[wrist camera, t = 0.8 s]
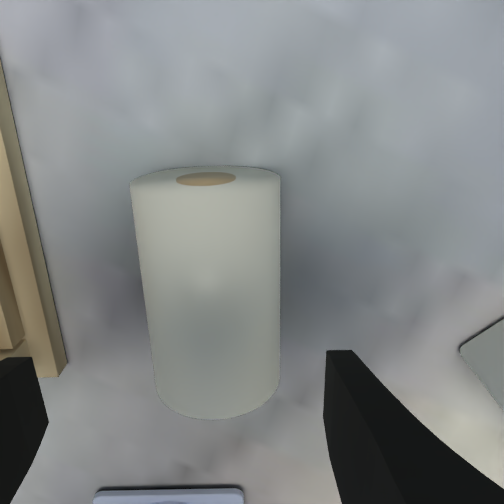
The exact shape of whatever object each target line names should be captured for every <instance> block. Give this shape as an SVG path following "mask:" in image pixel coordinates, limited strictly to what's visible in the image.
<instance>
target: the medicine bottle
mask: <svg viewBox="0 0 504 504" xmlns="http://www.w3.org/2000/svg"><path fill="white" fill-rule="evenodd" d="M460 354H461V357H462V358H463V359H464V360H465V362H466V363H467V364H468V366H469V367H470V368H471V369H472V371H473V372H474V373H475V375H476V376H477V377H478V379H479V380H480V381H481V382H482V384H483V385H484V386H485V388H486V389H487V390H488V391H489V393H490V394H491V395H492V397H493V398H494V399H495V401H496V402H497V403H498V404H499V406H500V407H501V408H502V410H503V411H504V319H503V320H501V321H500V322H498V323H497V324H495V325H493V326H492V327H490V328H489V329H487V330H486V331H484V332H483V333H481V334H479V335H478V336H476V337H475V338H473V339H472V340H470V341H469V342H467V343H465V344H464V345H463V346H462V347H461V348H460Z"/></svg>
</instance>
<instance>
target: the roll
mask: <svg viewBox="0 0 504 504" xmlns="http://www.w3.org/2000/svg"><path fill="white" fill-rule="evenodd" d="M129 186H130V193H131V201H132V208H133V216H134V224H135V231H136V239H137V247H138V254H139V262H140V270H141V277H142V285H143V292H144V300H145V308H146V315H147V323H148V331H149V338H150V346H151V354H152V361H153V369H154V376H155V384H156V390H157V393H158V396H159V397H160V399H161V400H162V402H163V403H164V404H165V405H166V406H167V407H169V408H170V409H171V410H173V411H175V412H177V413H179V414H181V415H184V416H187V417H191V418H195V419H202V420H222V419H229V418H233V417H237V416H241V415H244V414H246V413H249V412H251V411H253V410H255V409H257V408H258V407H260V406H262V405H263V404H264V403H265V402H267V401H268V400H269V399H270V398H271V397H272V395H273V394H274V393H275V391H276V390H277V387H278V385H279V381H280V176H279V175H278V174H276V173H274V172H271V171H268V170H264V169H259V168H252V167H242V166H201V167H185V168H177V169H169V170H163V171H158V172H154V173H150V174H146V175H143V176H140V177H138V178H136V179H134V180H133V181H132V182H131V183H130V185H129Z"/></svg>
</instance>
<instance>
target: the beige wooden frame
mask: <svg viewBox="0 0 504 504" xmlns="http://www.w3.org/2000/svg"><path fill="white" fill-rule="evenodd" d="M7 357H32V359H33V363H34V366H35V370H36V374H37V377H59V375H60V374H61V372H62V371H63V369H64V368H65V366H66V364H67V359H66V355H65V350H64V346H63V341H62V337H61V332H60V328H59V323H58V319H57V314H56V310H55V305H54V301H53V296H52V291H51V287H50V282H49V278H48V273H47V269H46V264H45V260H44V255H43V251H42V246H41V242H40V237H39V233H38V228H37V224H36V219H35V214H34V210H33V205H32V201H31V196H30V192H29V187H28V183H27V178H26V174H25V169H24V165H23V160H22V156H21V151H20V147H19V142H18V137H17V133H16V128H15V124H14V119H13V115H12V110H11V106H10V101H9V97H8V92H7V88H6V83H5V79H4V74H3V69H2V65H1V60H0V361H1V360H3V359H5V358H7Z"/></svg>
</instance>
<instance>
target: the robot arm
mask: <svg viewBox="0 0 504 504" xmlns="http://www.w3.org/2000/svg"><path fill="white" fill-rule="evenodd" d="M323 419H324V426H325V432H326V439H327V445H328V451H329V457H330V461H331V465H332V468H333V472H334V476H335V480H336V483H337V487H338V491H339V494H340V498H341V502H342V504H504V489H503V488H501V487H500V486H499V485H497V484H496V483H495V482H493V481H492V480H490V479H489V478H488V477H486V476H485V475H484V474H482V473H481V472H480V471H478V470H477V469H476V468H475V467H473V466H472V465H471V464H470V463H468V462H467V461H466V460H464V459H463V458H462V457H461V456H459V455H458V454H457V453H455V452H454V451H453V450H452V449H451V448H449V447H448V446H447V445H446V444H445V443H443V442H442V441H441V440H440V439H439V438H438V437H437V436H435V435H434V434H433V433H432V432H431V431H430V430H429V429H428V428H427V427H425V426H424V425H423V424H422V423H421V422H420V421H419V420H418V419H417V418H416V417H415V416H414V415H413V414H412V413H411V412H410V411H409V410H408V409H407V408H406V407H405V406H404V405H403V404H402V403H401V402H400V401H399V400H398V399H397V398H396V397H395V396H394V395H393V394H392V393H391V392H390V391H389V390H388V389H387V388H386V387H385V386H384V385H383V384H382V383H381V382H380V381H379V379H378V378H377V377H376V376H375V375H374V374H373V373H372V372H371V371H370V370H369V368H368V367H367V366H366V365H365V364H364V363H363V362H362V361H361V359H360V358H359V357H358V356H357V355H356V354H355V353H354V352H353V351H352V350H329V351H326V371H325V390H324V410H323ZM48 423H49V421H48V417H47V413H46V409H45V405H44V401H43V397H42V393H41V390H40V386H39V382H38V378H37V374H36V370H35V366H34V363H33V359H32V357H7V358H5V359H3V360H1V361H0V504H10V503H11V501H12V499H13V497H14V496H15V494H16V492H17V490H18V488H19V486H20V485H21V483H22V481H23V479H24V477H25V476H26V474H27V472H28V470H29V468H30V466H31V465H32V463H33V460H34V458H35V456H36V453H37V451H38V449H39V446H40V444H41V441H42V439H43V436H44V434H45V431H46V428H47V426H48ZM93 504H244V494H243V492H242V491H241V490H239V489H236V488H221V489H170V490H119V491H99V492H97V493H96V494H95V496H94V499H93Z"/></svg>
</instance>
